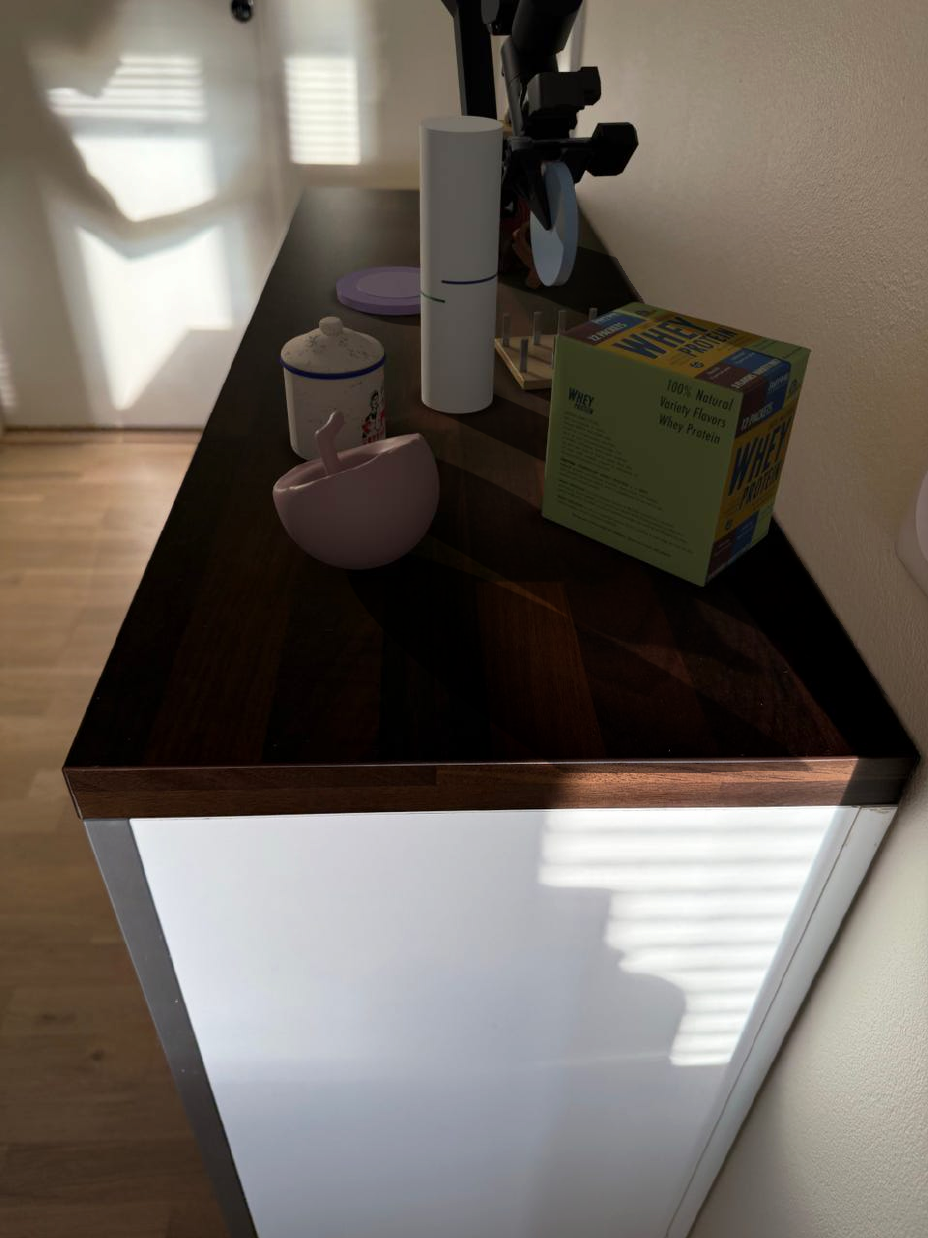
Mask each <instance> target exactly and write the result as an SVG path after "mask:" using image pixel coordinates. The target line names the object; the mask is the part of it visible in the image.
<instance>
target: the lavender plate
mask: <svg viewBox="0 0 928 1238" xmlns="http://www.w3.org/2000/svg"><path fill="white" fill-rule="evenodd" d="M335 290H336V291H335V292H336V298H337V300H338V301H339V302H340V303H341V304H342V305H344V306H345V307H346V308H347V307H348V308H349V309H352V310H354V311H358V312H363V313H367V314H372V315H373V314H374V315H381V316H411V315H421V267H414V266H403V265H402V266H400V265H399V266H398V265H397V266H378V267H370V268H365V269H360V270H357V271H353V272H351V273H348V274H346V275H344V276H343V277H341V278H340V279H338V281H337V282H336V285H335Z"/></svg>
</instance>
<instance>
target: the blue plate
mask: <svg viewBox="0 0 928 1238" xmlns="http://www.w3.org/2000/svg"><path fill="white" fill-rule="evenodd" d="M541 173H542V177H543V182H544V186H545V190H546V195H547V199H548V203H549V208H550V214H551V224H552V225H551V228H550V230H548V231H546V230H545V229H544V228H543V226H542V225H541V223H540V222H539V221H538V219H537V218H536V217H535V215H534V214H533V212H532V211H531V216H530V229H531V244H532V252H533V258H534V263H535V267H536V270H537V273H538V276H539V278H540V280H541V281H542V282H541V284H543V285H544V286H545V287H557V286H563V285H564V284H566V283H567V281H568V280H569V279H570V276H571V274H572V271H573V268H574V265H575V261H576V256H577V249H578V241H579V239H578V237H579V210H578V199H577V191H576V186H575V187H574V182H573V179H572V176H571V173H570V171H569V169H568V167H567V166H566V164H565V163H563V162H561V161H551V162H545V163H543V164H542V165H541Z"/></svg>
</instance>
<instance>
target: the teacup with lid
mask: <svg viewBox="0 0 928 1238" xmlns="http://www.w3.org/2000/svg"><path fill="white" fill-rule="evenodd" d="M318 324H319V326H318V328H315V329H313V330H310V331H309V332H307V333H303V334H299V335H298V336H295V337H293V338H291V339H290V340H289V341H287V342H286V343H285V344H284V345H283V347H282V349H281V352H280V355H279V361H280V365H281V366H282V367H283V376H284V385H285V386H284V387H285V396H286V406H287V414H288V415H287V417H288V428H289V438H290V439H289V440H290V446H291V448H292V450H293V452H294V453H295V454H296V455H297V456H299V457H300V458H302V459H303V460H306V461H307V462H310V461H312V460H316V459H319V458H321V456H320V453H319V450H318V447H317V444H316V441H315V433H316V432H317V431H318V430H319V429H321V428H322V427H324V426H325V425H326V424H327V422H328V421H329V419H330V416H331V414H332V413H333V412H335V411H340V412H342V413H343V415H344V424H343V426H342V427H341V428H340V430H339V431H338V433H337V435H336V437H335V439H334V446H335V450H336V453H341V452H343V451H347V450H349V449H354V448H356V447H360V446H363V445H366V444H370V443H373V442H376V441H380V440H384V439H387V433H386V432H387V429H386V401H385V400H386V399H385V372H384V369H385V367H384V363H385V362H386V359H387V354H386V351H385V349H384V346H383V345H382V343H381V342H380V341H379V340H378V339H377V338H375V337H373V336H371V335H369V334H366V333H362V332H359V331H354V330H353V329H351V328H349V327H345V326H344V322H343V320H341V318H339V317H338V316H337V317H336V316H326V317H323V318H321V319H320V321H319V323H318Z"/></svg>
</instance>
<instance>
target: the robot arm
mask: <svg viewBox="0 0 928 1238" xmlns="http://www.w3.org/2000/svg"><path fill="white" fill-rule="evenodd" d="M583 1H584V0H440V2H441V3H442V4H443V6H444V7H445V9H446V10H447V12H448V13H449V14H450V16H451V17H452V19H453V20H452V21H453V30H454V31H453V32H454V42H455V55H456V67H457V80H458V90H459V102H460V103H459V104H460V111H461V112H460V114H461V115H460V116H476V117H484V118H490V119H494V120H497V121H498V120H499V119H498V111H497V110H498V108H497V107H498V106H497V97H496V84H495V82H496V81H495V70H494V60H493V59H494V57H493V45H492V36H493V37H507V38H505V40H504V41H503V43H502V45H501V47H500V51H499V53H500V60H501V77H503V78H504V79H503V80H504V85H505V92H506V97H507V102H508V103H507V104H508V107H509V111H508V114H507V117H508V124H512V129H513V135H511V136H509V138H508V139H504V138H503V142H502V168H501V194H500V220H499V229H501V221H502V218H515V215H516V212H517V206H518V199H519V197H520V198H521V199H522V200H523V201H524V202H525V203H526V204H527V206H528V207H529V208H530V210H531V211H532V212H533V214H534V215H535V217H536V218H537V219H538V221H539V222H540V223H541V225H542V226H543V228H544V229H545V230H546V231H548V230H550V228H551V225H552V224H551V214H550V208H549V203H548V199H547V195H546V190H545V186H544V182H543V177H542V173H541V161H561V162H563V163H565V164H566V166H567V167H568V169H569V171H570V173H571V176H572V179H573V182H574V187H575V188H576V185H577V184H579V183H580V182H581V180H582V179H583V176H584V175H585V173H586V172H587V173H588V174H590V175H591V176H592V177H594V178H598V177H600V178H601V177H602V178H603V177H617V176H619V175H621V174H623V173H624V171H625V169H626V168H627V166H628V165H629V162H630V161H631V159H632V158H633V156H634V153H635V152H636V150H637V149H638V147H639V145H640V143H639V138H638V131H637V129H636V127H635V125H634V124H633V123H631V122H629V121H615V122H597V124H596V126H595V128H594V130H593V132H592V134H591V136H583V137H582V136H581V137H579V136H578V137H571V134H570V131H574V130H576V127H577V125H578V124H579V122H578V121H579V120H578V116H577V115H578V113H579V112H580V111H584V110H585V109H586V107H592V106H594V105H595V104H597V103H598V102H599V101H600V100H601V98H602V79H601V75H600V71H599V66H597V65H593V66H592V65H591V66H590V65H588V66H587V65H585V66H580V68H579V69H578V70H577V71H560V70H559V64H558V58H557V54H559V53H560V52H563V51H564V50H565V48H566V47H567V46H566V45H567V43H568V40H569V38H570V35H571V32H572V30H573V27H574V25H575V22H576V20H577V18H578V14H579V12H580V10H581V7H582V5H583ZM498 251H500V248H499V246H498Z"/></svg>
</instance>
